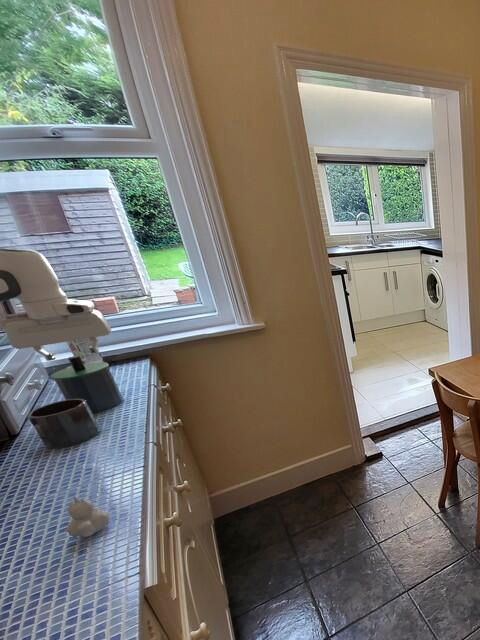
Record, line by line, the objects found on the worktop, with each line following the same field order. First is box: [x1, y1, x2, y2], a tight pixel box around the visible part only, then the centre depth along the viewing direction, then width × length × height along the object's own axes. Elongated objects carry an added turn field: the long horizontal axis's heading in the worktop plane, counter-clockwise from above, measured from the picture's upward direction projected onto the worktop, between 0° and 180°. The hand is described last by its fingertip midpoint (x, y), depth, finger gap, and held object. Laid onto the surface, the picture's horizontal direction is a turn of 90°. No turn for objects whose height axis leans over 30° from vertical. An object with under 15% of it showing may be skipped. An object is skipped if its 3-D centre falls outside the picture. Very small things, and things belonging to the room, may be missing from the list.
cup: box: [26, 399, 101, 450], centre depth 106 cm, size 10×10×9 cm
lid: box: [50, 355, 110, 381], centre depth 120 cm, size 12×12×5 cm
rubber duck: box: [66, 495, 110, 538], centre depth 73 cm, size 5×7×8 cm
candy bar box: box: [66, 338, 105, 363], centre depth 147 cm, size 11×5×16 cm, turn 59°
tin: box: [54, 367, 124, 415], centre depth 123 cm, size 11×11×12 cm
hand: (73, 356), depth 119 cm, fingers open, 8 cm apart
